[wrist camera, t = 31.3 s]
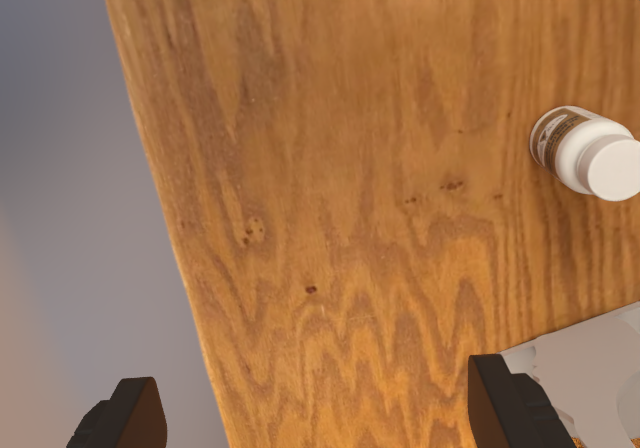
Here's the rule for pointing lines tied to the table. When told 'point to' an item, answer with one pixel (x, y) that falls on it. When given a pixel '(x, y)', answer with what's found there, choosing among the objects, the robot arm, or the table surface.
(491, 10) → the table surface
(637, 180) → the pill bottle
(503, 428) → the robot arm
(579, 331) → the ornament
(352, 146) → the table surface
